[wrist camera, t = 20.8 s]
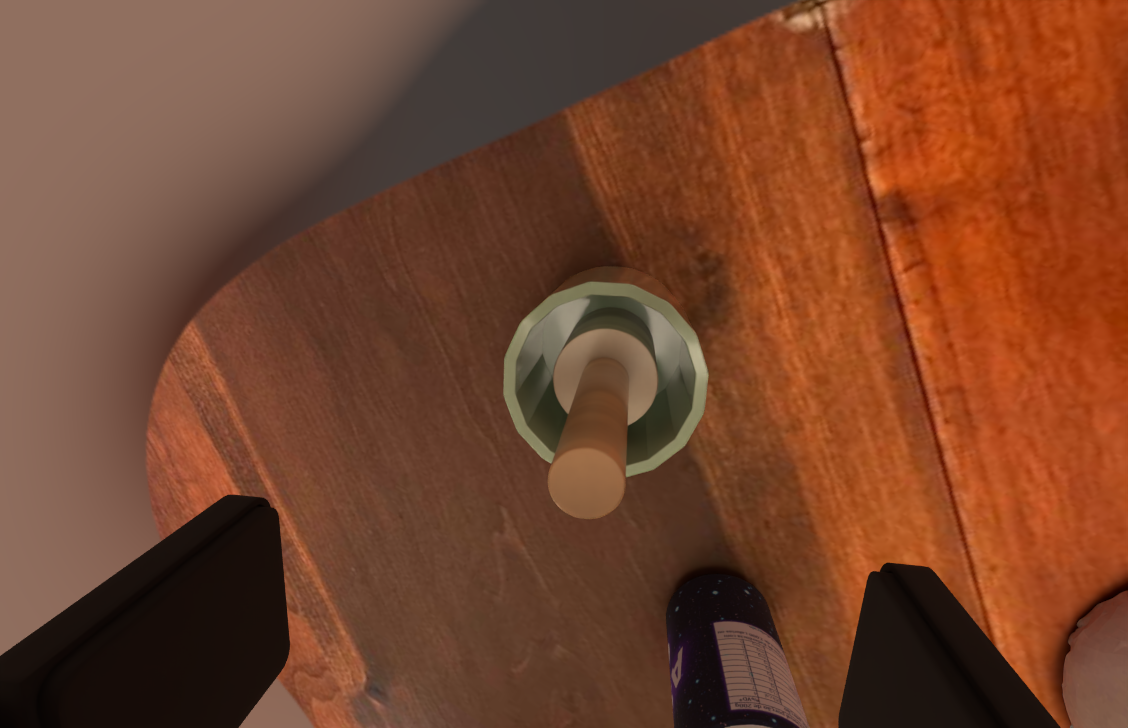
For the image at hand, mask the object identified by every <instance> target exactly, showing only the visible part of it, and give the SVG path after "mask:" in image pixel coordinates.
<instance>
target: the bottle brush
mask: <svg viewBox="0 0 1128 728" xmlns="http://www.w3.org/2000/svg"><path fill="white" fill-rule="evenodd" d="M553 385H554V390H555V394H556V397H557V399H558V401H559V403H560V404H561V406H562V408H563V409H564V410H565V411H566V412H567V413H568V417H567V420H566V423H565V425H564V428H563V431H562V434H561V437H560V440H559V443H558V446H557V449H556V452H555V455H554V458H553V461H552V464H551V467H550V470H549V473H548V489H549V492H550V495H551V497H552V499H553V500H554V502H555V503H556V504H557V506H558V507H559V508H560V509H561V510H563V511H564V512H566V513H567V514H569V515H571V516H574V517H577V518H582V519H595V518H599V517H602V516H604V515H607V514H608V513H610V512H611V511H613V510H614V509H615V508H616V507H617V506H618V505H619V503H620V502H621V500H622V498H623V496H624V492H625V484H626V456H627V429H628V425H630V424H632V423H634V422H635V421H637V420H638V419H640V418H641V417H642V416H643V415H644V414H645V413H646V412H647V411H648V409H649V408H650V406H651V405H652V403H653V401H654V399H655V396H656V393H657V389H658V370H657V363H656V356H655V349H654V342H653V338H652V335H651V333H650V330H649V329H648V327H647V326H646V324H645V323H644V322H643V321H642V320H641V319H640V318H639V317H638V316H637V315H635V314H634V313H632V312H630V311H628V310H625V309H621V308H616V307H606V308H600V309H597V310H594V311H592V312H590V313H588V314H586V315H585V316H584V317H583V318H581V319H580V320H579V321H578V323H577V324H576V325H575V327H574V328H573V330H572V332H571V334H570V336H569V337H568V339H567V341H566V343H565V345H564V347H563V348H562V350H561V352H560V354H559V356H558V358H557V360H556V363H555V366H554V371H553Z"/></svg>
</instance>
